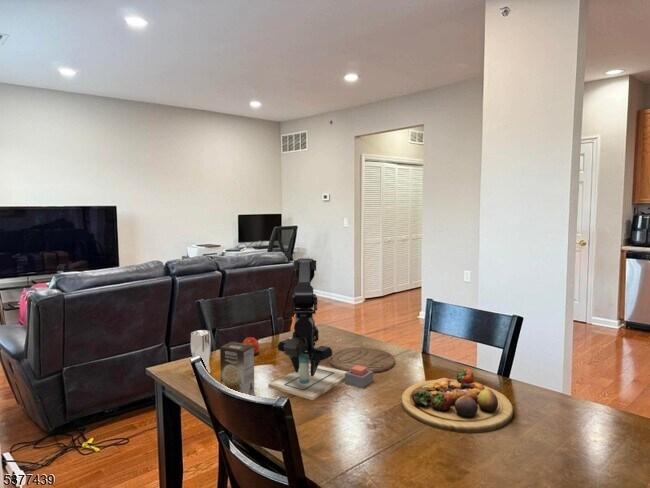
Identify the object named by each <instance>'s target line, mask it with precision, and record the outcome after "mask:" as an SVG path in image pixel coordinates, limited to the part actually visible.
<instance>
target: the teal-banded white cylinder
mask: <svg viewBox="0 0 650 488" xmlns="http://www.w3.org/2000/svg"><path fill="white" fill-rule="evenodd" d="M308 358H309V355H308V354H300V355H299V373H300V383H302V384H306V383H309V382H310V381H309V364H310V360H309V359H308Z"/></svg>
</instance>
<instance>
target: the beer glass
mask: <svg viewBox="0 0 650 488" xmlns="http://www.w3.org/2000/svg"><path fill="white" fill-rule="evenodd" d="M211 338H212V337H211V331H210V330H207V329H200V330H199V329H198V330H194V331H191V332H190V352H191V355H192V357H191V358H193V357H196V356H201V358H202V360H203V362H204V364H205V366H206V369H207V370H208V372H209V373H210V374H211V367H210V357H211V351H212V340H211ZM192 375H193V376H194V373H193V372H192Z"/></svg>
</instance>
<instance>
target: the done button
mask: <svg viewBox="0 0 650 488" xmlns="http://www.w3.org/2000/svg"><path fill="white" fill-rule="evenodd" d="M366 373H367V367H363V366H359V365H356V366H355V367H353V368H351V374H355V375H359V376H363V375H365V374H366Z"/></svg>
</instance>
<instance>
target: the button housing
mask: <svg viewBox="0 0 650 488" xmlns="http://www.w3.org/2000/svg"><path fill="white" fill-rule="evenodd" d="M373 382H374V374H373V371H370V370H367V373H366V374H365V375H363V376H359V375H355V374H351V370H350V371H348V372H346V373H345V380H344V384H346V385H348V386H352V387H356V388H357V387H358V388H360V389H364V388H366V387H367V386H369V385H370V384H372V383H373Z"/></svg>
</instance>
